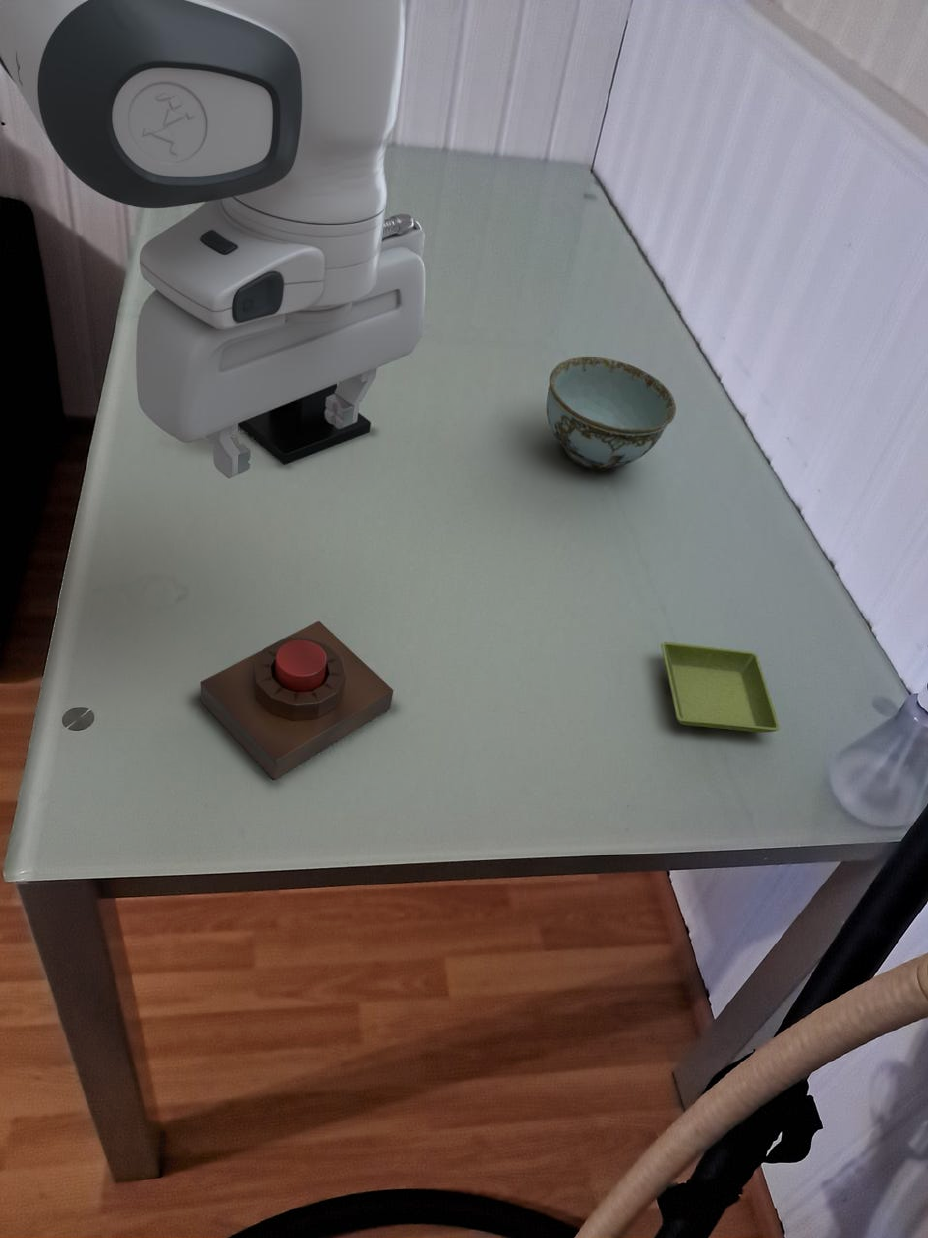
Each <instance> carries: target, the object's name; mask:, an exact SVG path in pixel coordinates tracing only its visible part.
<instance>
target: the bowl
mask: <svg viewBox="0 0 928 1238" xmlns="http://www.w3.org/2000/svg"><path fill="white" fill-rule="evenodd" d="M547 390H548V391H547V396H546V416H547V417H546V418H547V421H548V424H549V427H550V429H551V431H552V433H553V435H554V437H555V439H556V440H557V441H558V443H559V444H560V445H561V446H562V447H563V448H564V451H565V452H566V454H567V456H568V457H569V458H570V459H571V460H572V462H574V463H576V464H578V465H579V466H581V467H583V468H586V469H589V470H593V471H608V470H612V469H613V468H615V467H619V466H623V465H627V464H630V463H632V462H635V461H637V460H639V459H640V458H642V457H643V456H644V455H646V454H647V453H649V451H650V450H652V448H653V447H655V445H656V444H657V443H658V442H659V440H660V439H661V437H662V435H663V434H664V432H665V431H666V429H667V427H668V425H669V424H670V423H672V422H673V420H674V418H675V416H676V413H677V404H676V401H675V399H674V396H673V395H672V393H671V392H670V390H669V389H668V388H667V387H666V385H665V384H664V383H662V382H661V381H660V380H659V379H658V378H656V377H654V376H653V375H651V374H650V373H648V372H646V371H644V370H642V368H640V367H636V366H635V365H632V364H630V363H627V362H623V361H619V360H616V359H612V358H608V357H607V358H606V357H599V356H578V357H571V358H568V359H566V360H563V361H561V362H559V363H558V364H557V365H556V366H555V367H554V368H553V369H552V370H551V373H550V376H549V385H548V389H547Z"/></svg>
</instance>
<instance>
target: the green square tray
mask: <svg viewBox="0 0 928 1238" xmlns="http://www.w3.org/2000/svg"><path fill="white" fill-rule="evenodd" d="M661 651H662V656H663V661H664V665H665V671H666V674H667V679H668V683H669V689H670V694H671V698H672V703H673V709H674V713H675V716H676V720H677V722H678V723H679V724H680V725H683V726H690V727H700V728H710V729H718V730H719V729H720V730H729V731H739V732H749V733H759V734H760V733H763V734H764V733H773V732H777V731H779V730H780V724H779V721H778V717H777V714H776V710H775V708H774V704H773V701H772V698H771V695H770V693H769V689H768V686H767V683H766V679H765V676H764V672H763V670H762V665H761V662H760V659H759V657H758V656H759V655H758V654H757V653H755V652H752V651H748V650H741V649H740V650H739V649H732V648H721V647H713V646H704V645H696V644H688V643H679V642H672V641H671V642H670V641H664V642H662V643H661Z"/></svg>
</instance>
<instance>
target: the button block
mask: <svg viewBox="0 0 928 1238" xmlns="http://www.w3.org/2000/svg"><path fill="white" fill-rule="evenodd" d="M293 640H307V641H311V642H313V643H315V644H317V645H319V646H320V647H321V648H322V649H323V651H324V652H325V654H326V669H325V677H324V680H323V681H322V683H321V684H320V685H319V686H318V687H316V688H315V689H313V690H310V691H305V692H296V691H292V690H289V689H287V688H285V687H283V686H282V685H281V684H280V683H279V682H278V680H277V679H276V676H275V664H276V654H277V651H278V650H279V648H280V647H281V646H282V645H284V644H285V643H287V642H290V641H293ZM199 684H200V702H201V703H202V704H203V705H204V706H205V707H206V708H207V710H208V711H210V713H211V714H212V715H213V716H214V717H215V718H216V719H217V720H218V722H219V723H220V724H222V726H223V727H224V728H225V729H226V730H227V731H228V732H229V733H230V734H231V735H232V737H233V738H234V739H236V741H238V743H239V744H240V745H241V746H242V747H243V748H244V749H245V750H246V751H247V752H248V754H249V755H250V756H251V757H252V758H253V759H254V760H255V761H256V762H257V763H258V764H259V765H260V766H261V768H262V769H263V770H264V771H265V773H267V774H268V775H269V776H270V777H271V778H272V779H273V780H274V781H276V780H277V779H279V778H281V777H282V776H284V775H285V774H287V773H288V772H290V771H292V770H293V769H295V768H297V767H298V766H300V765H301V764H303V763H305V762H306V761H308V760H309V759H312V758H313V757H315V756H316V755H317V754H319V753H320V752H322V751H324V750H326V749H327V748H329V747H330V746H332V745H333V744H335V743H337V742H339V741H340V740H342V739H344V738H345V737H347V736H349V735H350V734H351V733H353V732H355V731H356V730H358V729H360V728H361V727H363V726H364V725H366V724H367V723H369V722H371V721H372V720H374V719H375V718H377V717H379V716H380V715H382V714H384V713H385V712H386V711H388V710H390V709H391V707H392V700H393V695H394V688H392V687H391V686H390V685H389V684H388V683H387V682H386V681H385V680H384V679H382V678H381V677H380V676H379V674H377V673H376V672H375V671H374V670H373V669H371V668H370V666H368V665H367V664H366V663H365V662H364V661H363V660H362V659H361V658H360V657H359V656H357V655H356V654H355V653H354V652H353V651H352V650H351V649H350V648H349V647H348V646H347V645H346V644H345V643H344V642H342V640H341V639H339V638H338V637H337V635H335V634H334V633H333V632H332V631H331V630H330V629H329V628H328V627H326V625H325V624H323V623H322V622H321V621H320V620H317V621H315V622H313V623H311V624H309V625H307V626H306V627H304V628H302V629H300V630H298V631H296V632H294V633H292V634H290V635H288V636H286V637H284V638H281V639H279V640H277V641H275V642H273V643H272V644H269V645H268V646H266V647H264V648H262V649H261V650H259V651H257V652H256V653H255V652H254V654H252V655H250V656H248V657H246V658H243V659H242V660H239V661H238V662H236V663H234V664H233V665H230V666H228V667H227V668H224V669H223V670H221V671H219V672H217V673H215V674H213V675H211V676H209V677H207V678H205V679H203V680H202V681H200V683H199Z"/></svg>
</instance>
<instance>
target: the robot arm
mask: <svg viewBox="0 0 928 1238" xmlns="http://www.w3.org/2000/svg"><path fill="white" fill-rule="evenodd" d="M406 20H407V0H0V66H1V67H2V68H3V70H4V71H5V72H6V74H7V75H8V76H9V77H10V79H11V80H12V81H13V82H14V84H15V85H16V87H17V88H18V90H19V92H20V93H21V95H22V97H23V99H24V101H25V102H26V103H27V106H28V107H29V110H30V111H31V113H32V114H33V116H34V118H35V120H36V121H37V124H38V125H39V127H40V128H41V130H42V132H43V133H44V135H45V136H46V138H47V140H48V141H49V143H50V144H51V146H52V147H53V149H54V150H55V152H56V154H57V155H58V157H59V158H60V160H61V161H62V163H63V164H64V165H65V166H66V167H67V169H68V170H70V172H71V173H72V174H73V175H74V176H76V178H78V179H79V180H80V181H81V182H82V183H84V184H85V185H86V186H87V187H89V188H90V189H91V190H93V191H94V192H97V193H98V194H100V195H101V196H104V197H105V198H107V199H109V200H112V201H114V202H117V203H120V204H123V205H126V206H130V207H131V206H132V207H135V208H142V209H167V208H175V207H182V206H190V205H195V204H201V203H203V204H201V205H200V206H199V207H197V208H196V209H195V210H194V211H193V212H191V213H190V214H188V215H187V216H186V217H184V218H182V219H181V220H179V221H178V222H176V223H175V224H173V225H172V226H170V227H168V228H167V229H165V230H164V231H162V232H160V233H158V234H157V235H155V236H154V237H152V238H151V239H149V240H148V241H147V242H145V244H144V245H143V246H142V247H141V250H140V253H139V268H140V273H141V275H142V277H143V279H144V280H146V282H148V283H149V284H150V285H151V286H152V287H153V288H154V290H153V291H152V292H151V293H150V294H149V295H148V296H147V298H146V299H145V301H144V303H143V305H142V307H141V309H140V313H139V315H138V321H137V329H136V349H135V365H136V366H135V367H136V389H137V390H136V391H137V400H138V403H139V407H140V409H141V411H142V413H144V415H145V416H146V417H147V418H148V419H149V420H150V421H151V422H153V423H154V424H155V425H156V426H157V427H159V428H160V429H161V430H163V431H164V432H165V433H167V434H168V435H169V436H171V437H173V438H174V439H176V440H177V441H179V442H181V443H183V444H189V443H193V442H196V441H198V440H201V439H202V438H205V437H206V438H207V439H208V441H209V442H210V443H211V445H212V446H213V447H212V448H213V449H212V450H213V452H212V454H213V458H212V459H213V464H214V467H215V468H216V470H217V471H218V472H219V473H221V474H222V475H223V476H225V477H226V478H228V479H232V478H234V477H236V476H238V475H241V474H242V473H244V472H246V471H249V470H250V468H251V463H250V462H249V461H250V459H251V448H249V447H248V446H246V445H245V444H243V443H240V440H238V439H237V438H236V437H234V436H235V435H237V434H238V433H239V425H238V423H240V422H243V421H245V420H248V419H250V418H253V417H255V416H258V415H260V414H263V413H265V412H268V411H270V410H272V409H275V408H277V407H280V406H282V405H285V404H287V403H290V402H292V401H295V400H297V399H300V398H302V397H305V396H307V395H310V394H312V393H315V392H317V391H320V390H322V389H325V388H327V387H330V386H332V385H335V384H337V383H338V384H337V388H336V391H335V394H333V395H330V396H328V397H326V403H325V406H326V407H327V408H326V410H325V418H326V420H327V421H328V422H329V423H330V424H334V425H335V427H336V428H337V429H341V428H344V427H346V426H349V425H351V424H353V423H356V421H357V418H358V413H359V410H360V409H359V408H360V404H361V403H362V401H363V399H364V398H365V396H366V394H367V393H368V391H369V389H370V388H371V386H372V384H373V382H374V381H375V379H376V376H377V368H380V367H383V366H385V365H387V364H389V363H392V362H394V361H397V360H400V359H402V358H404V357H406V356H409V355H411V354H412V352H414V350H415V349H416V346H417V345H418V343H419V341H420V339H421V337H422V334H423V333H422V332H423V327H424V315H425V303H426V302H425V300H426V268H425V264H424V260H423V253H424V247H425V238H426V236H425V231H424V230H423V228H422V226H421V224H420V223H419V222H418V220H416V219H415V218H413V217H412V216H411V215H410V214H408V213H397V214H393V215H392V216H390V217H389V218H386V219H385V217H386V208H387V201H388V186H387V181H386V176H385V175H386V174H385V158H386V157H385V156H386V152H387V151H386V150H387V147H388V143H389V141H390V138H391V136H392V134H393V132H394V130H395V126H396V123H397V120H398V113H399V112H398V111H399V104H400V96H401V89H402V79H403V78H402V77H403V69H404V68H403V67H404V58H405V57H404V56H405V43H406V41H405V40H406V39H405V38H406Z"/></svg>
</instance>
